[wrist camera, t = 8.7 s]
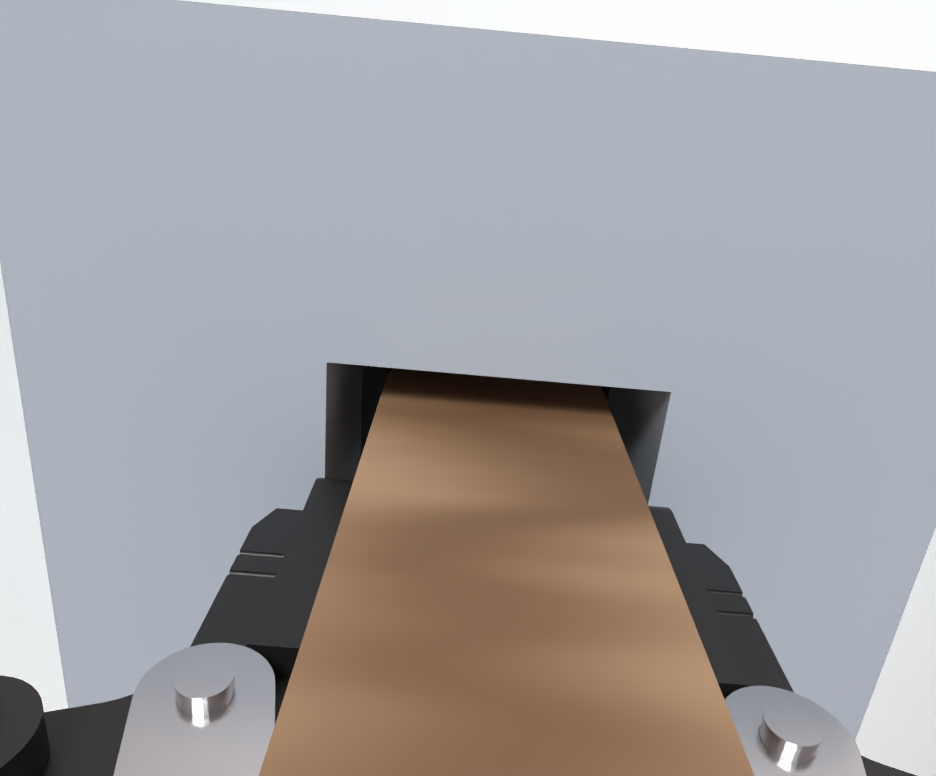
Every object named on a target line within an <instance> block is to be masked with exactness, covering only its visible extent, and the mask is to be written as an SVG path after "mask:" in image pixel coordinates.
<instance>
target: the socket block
mask: <svg viewBox="0 0 936 776" xmlns="http://www.w3.org/2000/svg"><path fill="white" fill-rule="evenodd" d="M0 263H1V269H2V276H3V282H4V289H5V295H6V302H7V309H8V315H9V322H10V328H11V335H12V341H13V348H14V354H15V361H16V368H17V374H18V381H19V387H20V394H21V400H22V407H23V413H24V420H25V426H26V433H27V440H28V446H29V453H30V459H31V466H32V472H33V479H34V485H35V492H36V499H37V505H38V512H39V518H40V525H41V531H42V538H43V544H44V551H45V558H46V564H47V571H48V577H49V584H50V590H51V597H52V603H53V610H54V617H55V623H56V630H57V636H58V643H59V649H60V656H61V662H62V669H63V676H64V682H65V689H66V695H67V702H68V708H73V707H79V706H85V705H91V704H97V703H103V702H107V701H112V700H116V699H120V698H123V697H126V696H129V695H132V694H134V691H135V688H136V687H137V685H138V683H139V682H140V680H141V678H142V677H143V676H144V675H145V674H146V673H147V672H148V670H150V669H151V668H152V667H153V666H154V665H155V664H157V663H158V662H160V661H161V660H163V659H164V658H166V657H167V656H169V655H171V654H173V653H175V652H177V651H180V650H183V649H185V648H188V647H190V646H191V644H192V642H193V640H194V638H195V636H196V634H197V632H198V630H199V628H200V626H201V624H202V623H203V621H204V619H205V617H206V615H207V613H208V611H209V609H210V607H211V605H212V603H213V601H214V599H215V597H216V595H217V593H218V592H219V590H220V588H221V586H222V584H223V582H224V580H225V578H226V576H227V575H229V573H230V568H231V566H232V564H233V562H234V561H235V559H236V557H237V555H239V553H240V549H241V547H242V545H243V543H244V541H245V539H246V537H247V535H248V533H249V531H250V530H251V528H252V526H254V525H255V524H256V523H258V522H259V521H260V520H262V519H263V518H264V517H266V516H267V515H268V514H270V513H271V512H272V511H274V510H275V509H276V508H280V509H293V510H303V509H304V506H305V504H306V502H307V499H308V497H309V494H310V492H311V490H312V487H313V485H314V482H315V480H316V479H317V478H328V479H340V480H352V481H353V480H354V477H355V474H356V471H357V468H358V465H359V462H360V449H361V421H362V392H363V366H375V367H386V368H398V369H410V370H421V371H433V372H444V373H456V374H468V375H479V376H491V377H502V378H514V379H526V380H537V381H549V382H560V383H572V384H584V385H595V386H607V387H610V391H609V397H608V402H607V403H608V405H609V408H610V411H611V413H612V416H613V418H614V421H615V423H616V426H617V428H618V431H619V433H620V436H621V438H622V441H623V443H624V446H625V449H626V451H627V454H628V456H629V459H630V461H631V464H632V466H633V469H634V471H635V474H636V476H637V479H638V482H639V484H640V487H641V489H642V492H643V494H644V497H645V499H646V502H647V504H648V506H656V507H668V508H670V509H671V511H672V512H673V514H674V517H675V519H676V521H677V523H678V526H679V528H680V530H681V532H682V535H683V537H684V539H685V541H686V543H695V544H705V545H706V546H707V547H708V548H709V549H710V550H712V551H713V552H714V553H715V554H716V555H717V556H718V557H719V558H720V559H722V560H723V561H724V562H725V563H726V564H727V565H728V566H729V567H730V568H731V570H732V572H733V574H734V576H735V578H736V580H737V582H738V584H739V586H740V588H741V590H742V592H743V594H742V595H743V597H745V598H746V599H747V601H748V603H749V605H750V607H751V609H752V611H753V613H754V614H753V618H754V619H757V621H758V623H759V625H760V627H761V629H762V631H763V633H764V635H765V637H766V639H767V640H768V642H769V644H770V646H771V648H772V650H773V652H774V654H775V656H776V658H777V660H778V662H779V664H780V666H781V668H782V670H783V672H784V674H785V676H786V678H787V680H788V681H789V683H790V685H791V687H792V689H793V691H794V693H796V694H799V695H801V696H803V697H805V698H807V699H809V700H811V701H813V702H815V703H816V704H818V705H819V706H821V707H822V708H824V709H825V710H827V711H828V712H829V713H830V714H832V715H833V716H834V717H835V718H836V719H837V720H838V721H839V722H840V723H841V724H842V725H843V726H844V727H845V728H846V729H847V731H848V732H849V733H850V734H851V736H852V737H853V739H854V741H855V738H856V736H857V733H858V730H859V728H860V725H861V723H862V720H863V717H864V715H865V712H866V709H867V707H868V704H869V701H870V699H871V696H872V693H873V691H874V688H875V685H876V683H877V680H878V678H879V675H880V672H881V670H882V667H883V664H884V662H885V659H886V656H887V654H888V651H889V648H890V646H891V643H892V641H893V638H894V635H895V633H896V630H897V627H898V625H899V622H900V619H901V617H902V614H903V611H904V609H905V606H906V603H907V601H908V598H909V596H910V593H911V590H912V588H913V585H914V582H915V580H916V577H917V574H918V572H919V569H920V566H921V564H922V561H923V559H924V556H925V553H926V551H927V548H928V545H929V543H930V540H931V537H932V535H933V532H934V529H935V527H936V72H930V71H920V70H909V69H898V68H888V67H877V66H867V65H856V64H845V63H835V62H824V61H814V60H803V59H793V58H782V57H771V56H761V55H750V54H740V53H729V52H718V51H708V50H697V49H687V48H676V47H665V46H655V45H644V44H634V43H623V42H612V41H602V40H591V39H581V38H570V37H559V36H549V35H538V34H528V33H517V32H506V31H496V30H485V29H475V28H464V27H454V26H443V25H432V24H422V23H411V22H401V21H390V20H379V19H369V18H358V17H348V16H337V15H326V14H316V13H305V12H295V11H284V10H273V9H263V8H252V7H242V6H231V5H220V4H210V3H199V2H189V1H178V0H0Z"/></svg>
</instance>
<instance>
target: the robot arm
mask: <svg viewBox="0 0 936 776" xmlns="http://www.w3.org/2000/svg"><path fill="white" fill-rule="evenodd" d="M352 483H353V481H352V480H340V479H328V478H317V479H316V480H315V482H314V485H313V487H312V490H311V492H310V494H309V497H308V499H307V502H306V504H305V506H304V509H303V510H293V509H280V508H276V509H275V510H274V511H272V512H271V513H270V514H268V515H267V516H266V517H264V518H263V519H262V520H260V521H259V522H258V523H256V524H255V525H254V526H252V528H251V530H250V531H249V533H248V535H247V537H246V539H245V541H244V543H243V545H242V547H241V549H240V553H239V555H237V557H236V559H235V561H234V562H233V564H232V566H231V568H230V573H229V575H227V576H226V578H225V580H224V582H223V584H222V586H221V588H220V590H219V592H218V593H217V595H216V597H215V599H214V601H213V603H212V605H211V607H210V609H209V611H208V613H207V615H206V617H205V619H204V621H203V623H202V624H201V626H200V628H199V630H198V632H197V634H196V636H195V638H194V640H193V642H192V644H191V646H190V647H188V648H185V649H183V650H180V651H177V652H175V653H173V654H171V655H169V656H167V657H166V658H164V659H163V660H161V661H160V662H158V663H157V664H155V665H154V666H153V667H152V668H151V669H150V670H148V672H147V673H146V674H145V675H144V676H143V677H142V678H141V680H140V682H139V683H138V685H137V687H136V688H135V691H134V694H132V695H129V696H126V697H123V698H120V699H116V700H112V701H107V702H103V703H97V704H91V705H85V706H79V707H73V708H68V709H62V710H56V711H50V712H44V711H43V705H42V700H41V697H40V695H39V694H38V692H37V691H36V690H35V689H34V688H33V687H32V686H31V685H30V684H28V683H26V682H25V681H23V680H20V679H17V678H14V677H7V676H0V776H259V773H260V770H261V767H262V764H263V761H264V758H265V755H266V751H267V748H268V745H269V742H270V739H271V736H272V733H273V730H274V727H275V723H276V720H277V717H278V714H279V711H280V708H281V705H282V702H283V698H284V695H285V692H286V689H287V686H288V683H289V680H290V677H291V674H292V670H293V667H294V664H295V661H296V658H297V655H298V652H299V649H300V645H301V642H302V639H303V636H304V633H305V630H306V627H307V624H308V621H309V617H310V614H311V611H312V608H313V605H314V602H315V599H316V596H317V593H318V589H319V586H320V583H321V580H322V577H323V574H324V571H325V568H326V564H327V561H328V558H329V555H330V552H331V549H332V546H333V543H334V540H335V536H336V533H337V530H338V527H339V524H340V521H341V518H342V515H343V511H344V508H345V505H346V502H347V499H348V496H349V493H350V490H351V487H352ZM648 507H649V509H650V512H651V515H652V517H653V520H654V522H655V525H656V527H657V530H658V532H659V535H660V537H661V540H662V542H663V545H664V547H665V550H666V553H667V555H668V558H669V560H670V563H671V565H672V568H673V570H674V573H675V575H676V578H677V580H678V583H679V586H680V588H681V591H682V593H683V596H684V598H685V601H686V603H687V606H688V608H689V611H690V613H691V616H692V618H693V621H694V624H695V626H696V629H697V631H698V634H699V636H700V639H701V641H702V644H703V646H704V649H705V651H706V654H707V657H708V659H709V662H710V664H711V667H712V669H713V672H714V674H715V677H716V679H717V682H718V684H719V687H720V689H721V692H722V695H723V697H724V700H725V702H726V705H727V707H728V710H729V712H730V715H731V717H732V720H733V722H734V725H735V728H736V730H737V733H738V735H739V738H740V740H741V743H742V745H743V748H744V750H745V753H746V755H747V758H748V760H749V763H750V766H751V768H752V771H753V773H754V776H916V775H913V774H910V773H907V772H904V771H901V770H898V769H895V768H892V767H889V766H886V765H883V764H880V763H878V762H875V761H872V760H870V759H868V758H865V757H863V756H861V754H860V752H859V749H858V747H857V744H856V743H855V741H854V739H853V737H852V736H851V734H850V733H849V732H848V731H847V729H846V728H845V727H844V726H843V725H842V724H841V723H840V722H839V721H838V720H837V719H836V718H835V717H834V716H833V715H832V714H830V713H829V712H828V711H827V710H825V709H824V708H822V707H821V706H819V705H818V704H816V703H815V702H813V701H811V700H809V699H807V698H805V697H803V696H801V695H799V694H796V693H794V691H793V689H792V687H791V685H790V683H789V681H788V680H787V678H786V676H785V674H784V672H783V670H782V668H781V666H780V664H779V662H778V660H777V658H776V656H775V654H774V652H773V650H772V648H771V646H770V644H769V642H768V640H767V639H766V637H765V635H764V633H763V631H762V629H761V627H760V625H759V623H758V621H757V619H754V618H753V614H754V613H753V611H752V609H751V607H750V605H749V603H748V601H747V599H746V598H745V597H743V595H742V594H743V592H742V590H741V588H740V586H739V584H738V582H737V580H736V578H735V576H734V574H733V572H732V570H731V568H730V567H729V566H728V565H727V564H726V563H725V562H724V561H723V560H722V559H720V558H719V557H718V556H717V555H716V554H715V553H714V552H713V551H712V550H710V549H709V548H708V547H707V546H706V545H705V544H695V543H686V541H685V539H684V537H683V535H682V532H681V530H680V528H679V526H678V523H677V521H676V519H675V517H674V514H673V512H672V511H671V509H670V508H668V507H656V506H648Z"/></svg>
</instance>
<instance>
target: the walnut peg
mask: <svg viewBox="0 0 936 776" xmlns="http://www.w3.org/2000/svg"><path fill="white" fill-rule="evenodd" d="M259 776H754V773H753V771H752V768H751V766H750V763H749V760H748V758H747V755H746V753H745V750H744V748H743V745H742V743H741V740H740V738H739V735H738V733H737V730H736V728H735V725H734V722H733V720H732V717H731V715H730V712H729V710H728V707H727V705H726V702H725V700H724V697H723V695H722V692H721V689H720V687H719V684H718V682H717V679H716V677H715V674H714V672H713V669H712V667H711V664H710V662H709V659H708V657H707V654H706V651H705V649H704V646H703V644H702V641H701V639H700V636H699V634H698V631H697V629H696V626H695V624H694V621H693V618H692V616H691V613H690V611H689V608H688V606H687V603H686V601H685V598H684V596H683V593H682V591H681V588H680V586H679V583H678V580H677V578H676V575H675V573H674V570H673V568H672V565H671V563H670V560H669V558H668V555H667V553H666V550H665V547H664V545H663V542H662V540H661V537H660V535H659V532H658V530H657V527H656V525H655V522H654V520H653V517H652V515H651V512H650V509H649V507H648V504H647V502H646V499H645V497H644V494H643V492H642V489H641V487H640V484H639V482H638V479H637V476H636V474H635V471H634V469H633V466H632V464H631V461H630V459H629V456H628V454H627V451H626V449H625V446H624V443H623V441H622V438H621V436H620V433H619V431H618V428H617V426H616V423H615V421H614V418H613V416H612V413H611V411H610V408H609V405H608V403H607V400H606V398H605V395H604V393H603V390H602V388H601V386H595V385H584V384H572V383H560V382H549V381H537V380H526V379H514V378H502V377H491V376H479V375H468V374H456V373H444V372H433V371H421V370H410V369H398V368H389V371H388V374H387V377H386V381H385V384H384V387H383V390H382V393H381V396H380V399H379V402H378V406H377V409H376V412H375V415H374V418H373V421H372V424H371V427H370V430H369V434H368V437H367V440H366V443H365V446H364V449H363V452H362V455H361V459H360V462H359V465H358V468H357V471H356V474H355V477H354V480H353V483H352V487H351V490H350V493H349V496H348V499H347V502H346V505H345V508H344V511H343V515H342V518H341V521H340V524H339V527H338V530H337V533H336V536H335V540H334V543H333V546H332V549H331V552H330V555H329V558H328V561H327V564H326V568H325V571H324V574H323V577H322V580H321V583H320V586H319V589H318V593H317V596H316V599H315V602H314V605H313V608H312V611H311V614H310V617H309V621H308V624H307V627H306V630H305V633H304V636H303V639H302V642H301V645H300V649H299V652H298V655H297V658H296V661H295V664H294V667H293V670H292V674H291V677H290V680H289V683H288V686H287V689H286V692H285V695H284V698H283V702H282V705H281V708H280V711H279V714H278V717H277V720H276V723H275V727H274V730H273V733H272V736H271V739H270V742H269V745H268V748H267V751H266V755H265V758H264V761H263V764H262V767H261V770H260V773H259Z"/></svg>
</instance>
